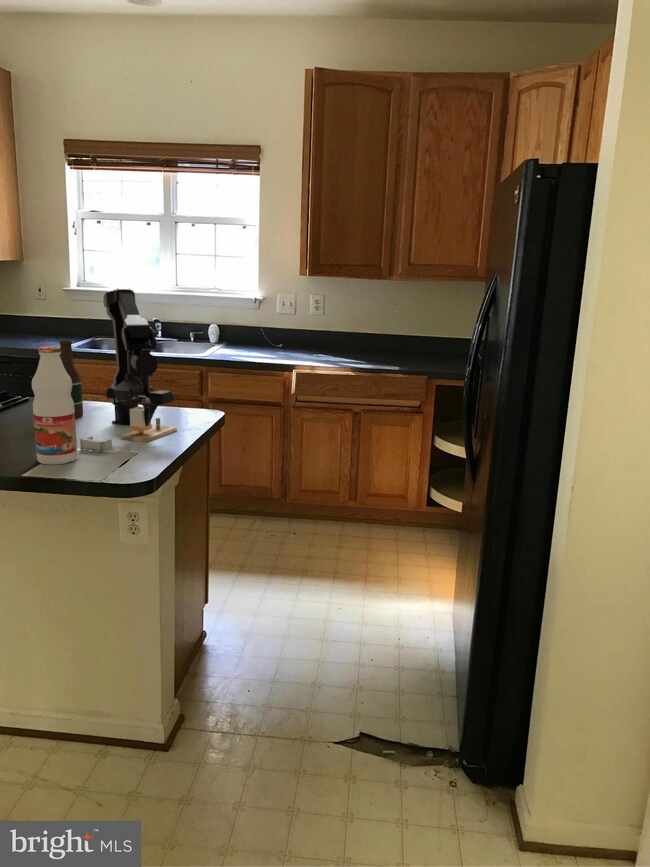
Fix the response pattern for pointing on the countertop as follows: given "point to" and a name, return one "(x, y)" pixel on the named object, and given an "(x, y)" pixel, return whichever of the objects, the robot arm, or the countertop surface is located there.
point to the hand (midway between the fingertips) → (140, 425)
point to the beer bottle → (72, 375)
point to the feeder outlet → (95, 444)
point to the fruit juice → (53, 410)
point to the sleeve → (138, 419)
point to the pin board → (150, 433)
